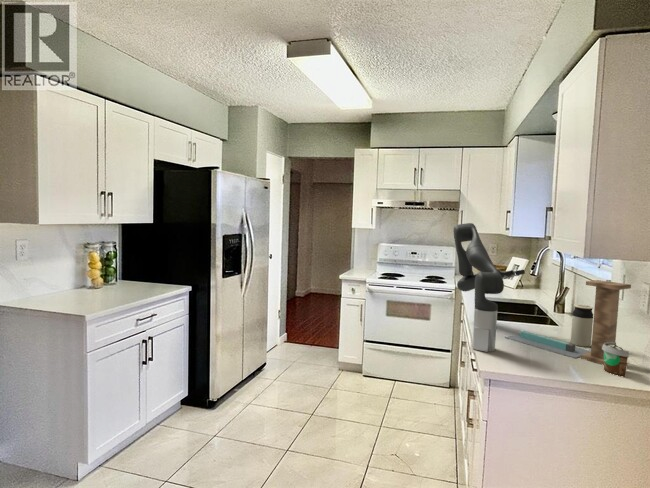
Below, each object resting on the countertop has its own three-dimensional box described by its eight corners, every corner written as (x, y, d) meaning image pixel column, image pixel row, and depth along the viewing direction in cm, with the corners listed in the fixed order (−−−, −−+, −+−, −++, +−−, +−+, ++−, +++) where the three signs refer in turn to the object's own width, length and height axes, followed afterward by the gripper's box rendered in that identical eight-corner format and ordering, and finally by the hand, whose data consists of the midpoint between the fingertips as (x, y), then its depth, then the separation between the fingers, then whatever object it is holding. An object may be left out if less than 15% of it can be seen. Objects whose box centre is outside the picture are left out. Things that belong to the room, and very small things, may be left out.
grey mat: (594, 352, 175) (594, 352, 175) (575, 358, 167) (575, 357, 167) (524, 333, 202) (524, 332, 202) (504, 337, 194) (504, 336, 194)
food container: (595, 364, 160) (597, 340, 159) (613, 367, 158) (615, 341, 158) (607, 376, 148) (609, 349, 148) (626, 378, 146) (629, 351, 146)
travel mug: (595, 347, 184) (598, 308, 182) (579, 347, 182) (582, 308, 181) (581, 341, 191) (584, 304, 190) (566, 342, 190) (569, 304, 189)
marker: (574, 351, 175) (575, 344, 175) (571, 352, 174) (571, 345, 173) (523, 336, 196) (523, 330, 196) (519, 337, 194) (520, 331, 194)
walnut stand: (625, 363, 163) (631, 284, 161) (612, 367, 157) (618, 286, 155) (592, 354, 173) (598, 280, 171) (579, 358, 167) (585, 281, 165)
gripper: (501, 284, 213) (529, 278, 199) (483, 285, 205) (511, 280, 192) (498, 270, 214) (525, 263, 201) (480, 271, 207) (507, 264, 193)
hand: (518, 272), depth 196 cm, fingers open, 8 cm apart
